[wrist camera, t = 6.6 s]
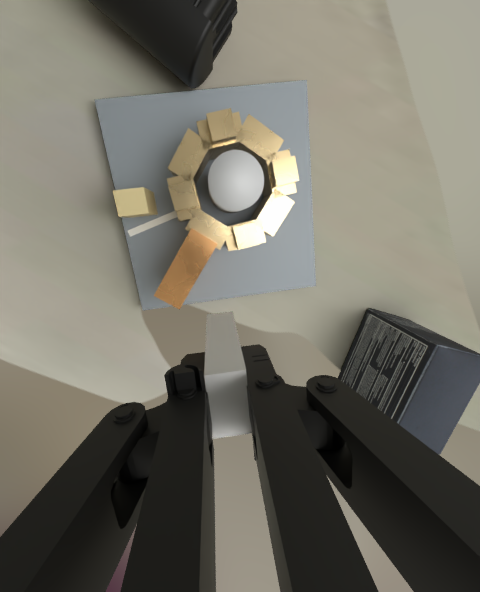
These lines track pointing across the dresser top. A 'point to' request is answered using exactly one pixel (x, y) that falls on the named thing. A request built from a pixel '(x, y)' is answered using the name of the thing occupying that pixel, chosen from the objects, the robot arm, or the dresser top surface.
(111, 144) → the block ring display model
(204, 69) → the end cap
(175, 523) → the robot arm
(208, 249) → the gold ring with handle
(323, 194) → the dresser top surface
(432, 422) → the small box
